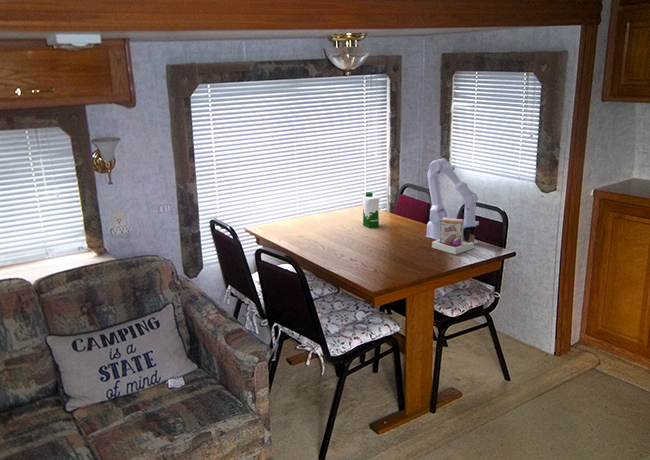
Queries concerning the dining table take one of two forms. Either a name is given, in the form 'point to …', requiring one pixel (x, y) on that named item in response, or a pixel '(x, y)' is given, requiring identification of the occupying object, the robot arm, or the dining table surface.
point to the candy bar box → (451, 232)
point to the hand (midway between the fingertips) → (468, 240)
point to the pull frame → (455, 250)
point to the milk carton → (370, 210)
